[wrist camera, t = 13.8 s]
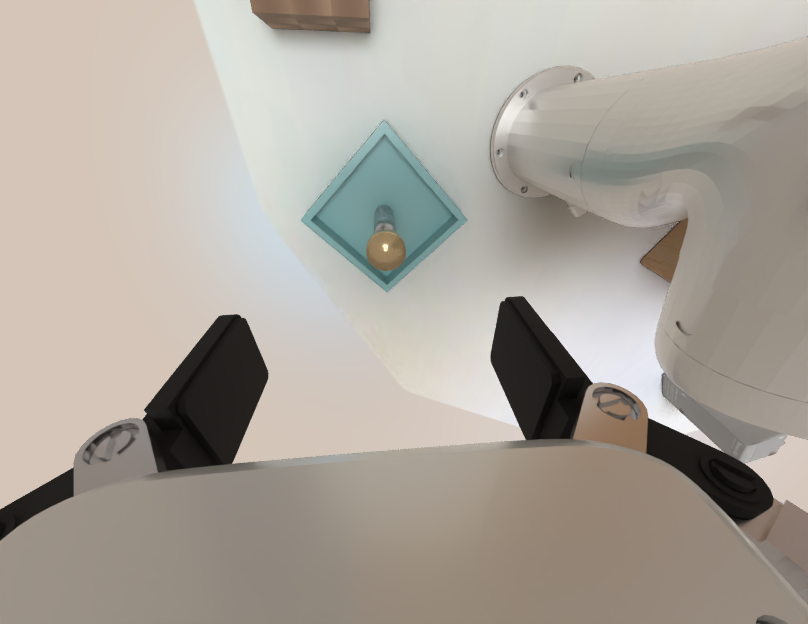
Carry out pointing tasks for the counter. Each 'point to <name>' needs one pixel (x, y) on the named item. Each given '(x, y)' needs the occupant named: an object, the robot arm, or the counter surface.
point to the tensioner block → (314, 14)
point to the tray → (384, 185)
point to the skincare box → (725, 427)
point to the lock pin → (385, 241)
